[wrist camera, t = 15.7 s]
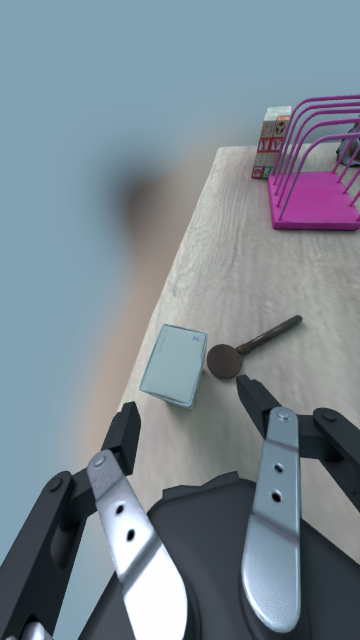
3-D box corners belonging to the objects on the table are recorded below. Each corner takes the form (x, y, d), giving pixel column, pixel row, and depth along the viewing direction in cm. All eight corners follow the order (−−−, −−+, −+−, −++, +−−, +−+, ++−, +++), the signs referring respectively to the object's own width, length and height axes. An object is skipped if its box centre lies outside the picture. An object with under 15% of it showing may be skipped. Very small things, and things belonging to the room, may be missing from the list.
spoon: (287, 308, 29) (290, 304, 28) (311, 330, 27) (315, 327, 26) (200, 355, 26) (200, 352, 25) (218, 385, 24) (219, 383, 23)
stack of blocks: (258, 152, 64) (270, 99, 53) (276, 152, 62) (292, 97, 52) (250, 178, 54) (263, 119, 43) (271, 179, 52) (290, 118, 42)
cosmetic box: (176, 359, 26) (162, 320, 16) (204, 367, 25) (209, 330, 15) (163, 402, 23) (134, 389, 13) (194, 413, 22) (190, 407, 12)
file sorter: (331, 179, 49) (381, 88, 36) (357, 231, 37) (448, 124, 24) (267, 180, 52) (291, 97, 39) (272, 229, 40) (309, 133, 27)
